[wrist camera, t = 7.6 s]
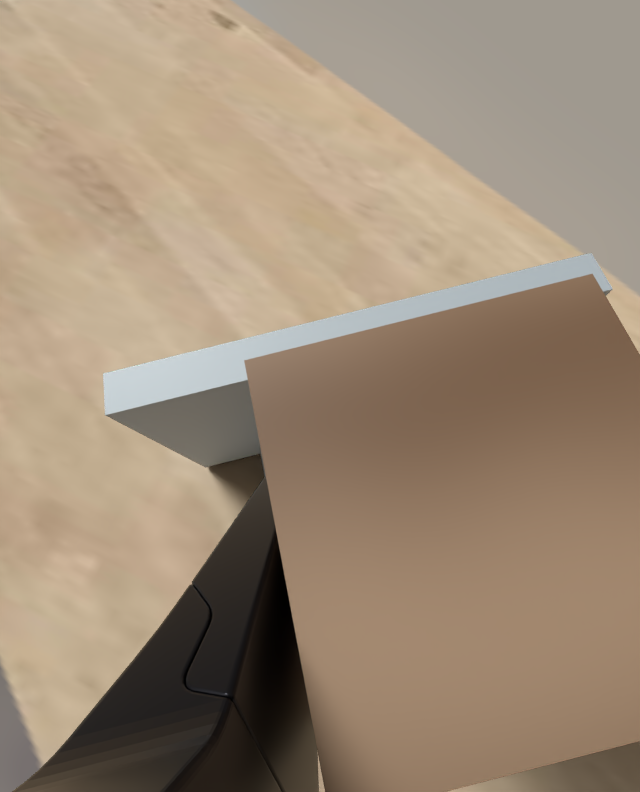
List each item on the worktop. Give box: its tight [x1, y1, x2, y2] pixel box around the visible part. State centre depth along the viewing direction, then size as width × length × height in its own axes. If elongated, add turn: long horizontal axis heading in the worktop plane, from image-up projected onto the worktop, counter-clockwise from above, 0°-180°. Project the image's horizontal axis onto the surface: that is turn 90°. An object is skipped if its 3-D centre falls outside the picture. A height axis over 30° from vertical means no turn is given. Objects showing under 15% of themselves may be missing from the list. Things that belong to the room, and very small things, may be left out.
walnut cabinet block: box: [244, 274, 640, 792], centre depth 10 cm, size 6×6×10 cm
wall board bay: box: [103, 253, 612, 476], centre depth 17 cm, size 11×18×10 cm, turn 103°
